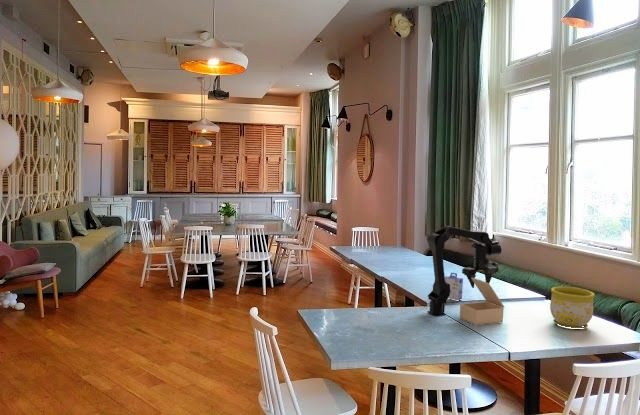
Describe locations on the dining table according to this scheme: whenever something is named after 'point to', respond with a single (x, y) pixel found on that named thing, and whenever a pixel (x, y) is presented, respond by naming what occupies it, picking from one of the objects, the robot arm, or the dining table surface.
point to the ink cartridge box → (455, 286)
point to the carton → (481, 313)
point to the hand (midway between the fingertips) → (480, 286)
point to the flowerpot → (571, 306)
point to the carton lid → (487, 292)
